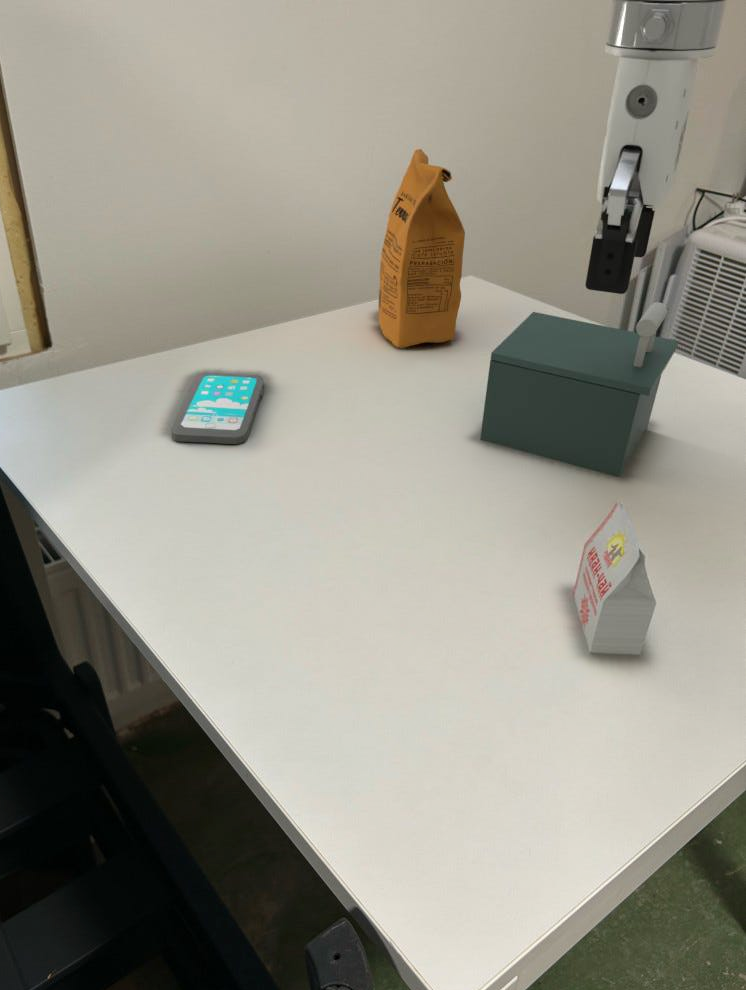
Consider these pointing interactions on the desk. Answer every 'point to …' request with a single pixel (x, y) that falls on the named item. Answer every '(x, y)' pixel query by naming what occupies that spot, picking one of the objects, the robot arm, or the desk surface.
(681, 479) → the desk surface
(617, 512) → the white paper food bag
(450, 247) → the coffee package
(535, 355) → the green box lid
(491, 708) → the desk surface
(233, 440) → the smartphone
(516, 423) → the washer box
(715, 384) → the desk surface
